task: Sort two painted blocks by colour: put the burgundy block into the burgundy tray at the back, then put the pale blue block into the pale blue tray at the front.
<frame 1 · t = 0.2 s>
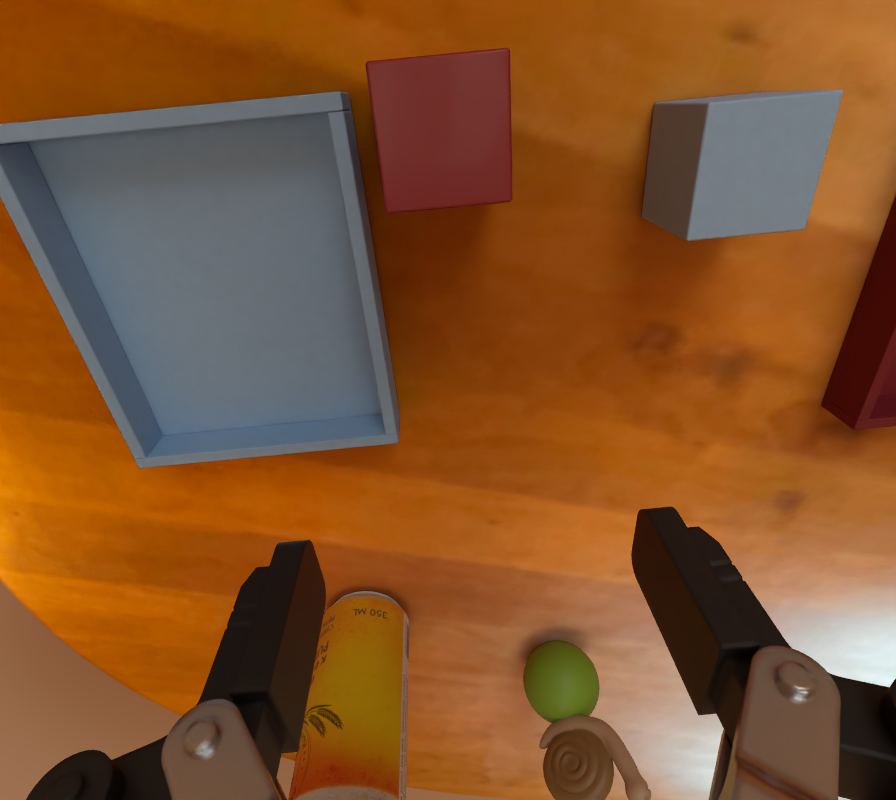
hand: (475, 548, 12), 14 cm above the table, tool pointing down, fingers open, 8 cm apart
blue tray: (239, 295, 23), on the table
burgundy block: (439, 130, 20), on the table
blue block: (698, 158, 21), on the table
snail figurine: (557, 642, 39), on the table
beer can: (366, 611, 36), on the table
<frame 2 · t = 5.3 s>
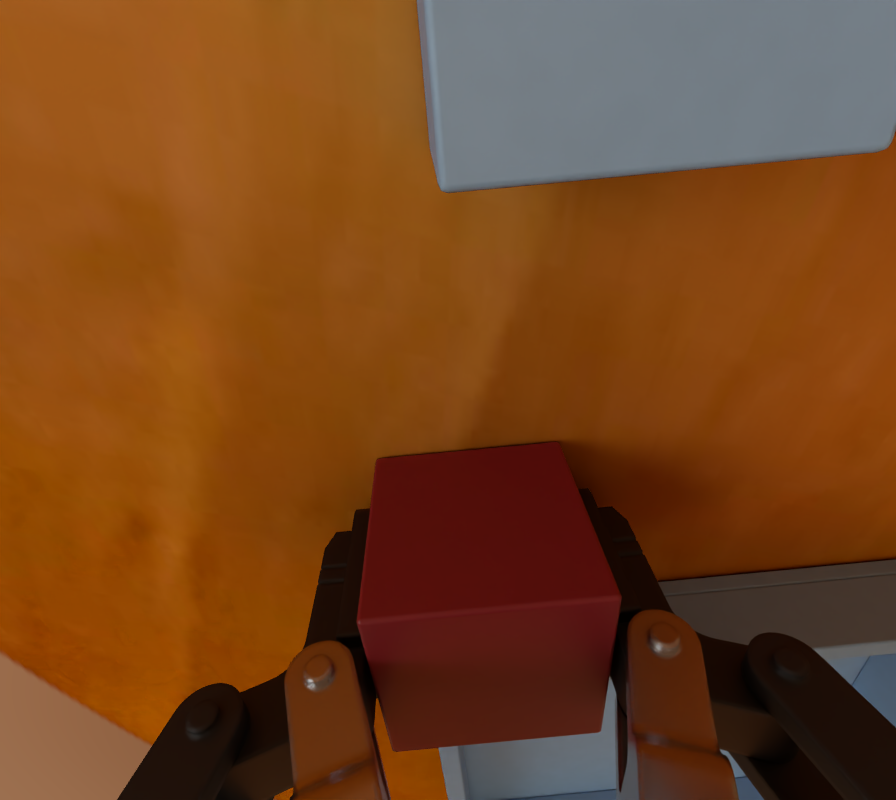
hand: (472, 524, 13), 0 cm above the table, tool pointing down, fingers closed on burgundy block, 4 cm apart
blue tray: (648, 697, 18), on the table
burgundy block: (472, 516, 13), on the table, touching gripper
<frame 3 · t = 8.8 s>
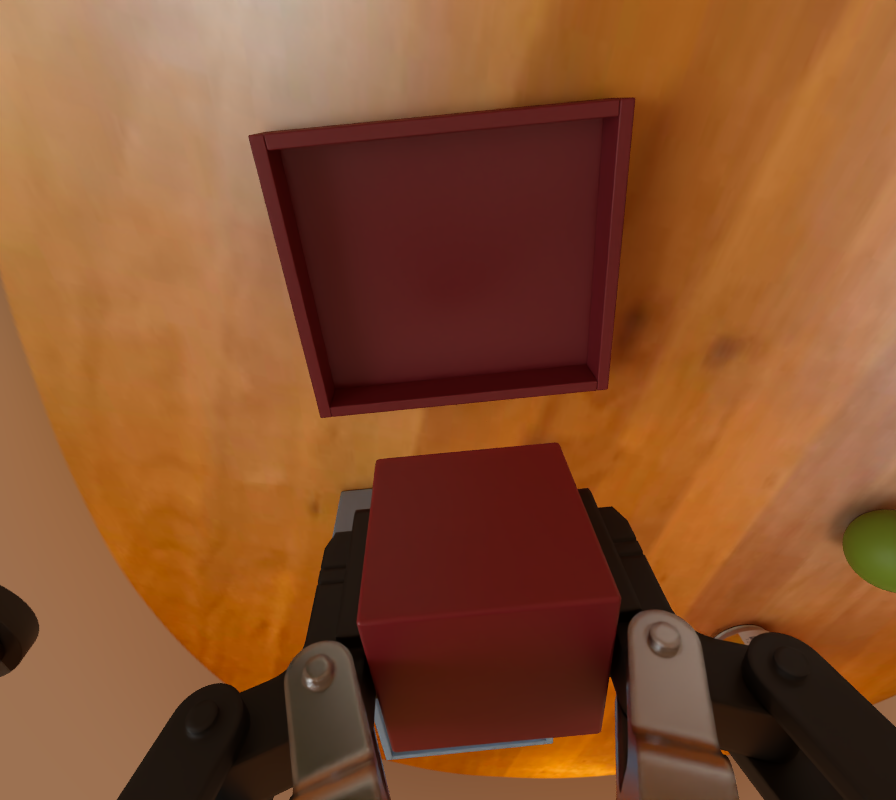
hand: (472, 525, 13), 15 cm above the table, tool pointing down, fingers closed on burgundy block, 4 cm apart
burgundy tray: (451, 266, 25), on the table
blue tray: (462, 683, 44), on the table
burgundy block: (472, 516, 13), point 15 cm above the table, touching gripper
blue block: (381, 513, 33), on the table
snail figurine: (860, 515, 36), on the table
beer can: (736, 640, 43), on the table
when the fingers open (1 cm above the table, at t = 12.6 s): burgundy block stays where it is, resting on burgundy tray.
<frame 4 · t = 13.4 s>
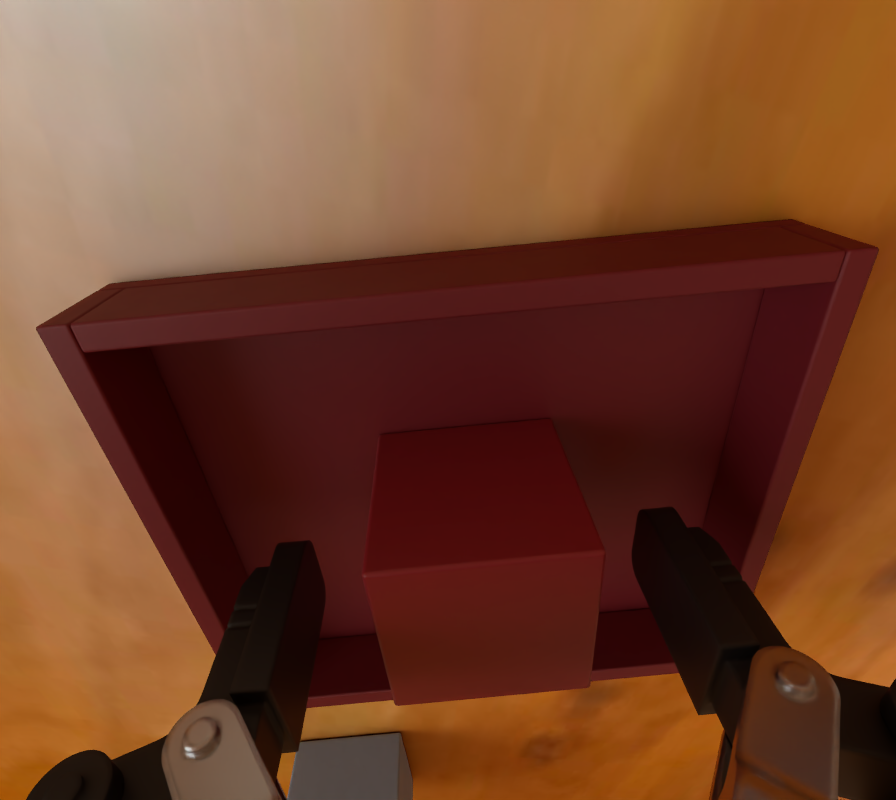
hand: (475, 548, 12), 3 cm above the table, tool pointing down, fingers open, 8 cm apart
burgundy tray: (468, 479, 14), on the table
burgundy block: (469, 490, 14), resting on burgundy tray
blue block: (358, 760, 23), on the table
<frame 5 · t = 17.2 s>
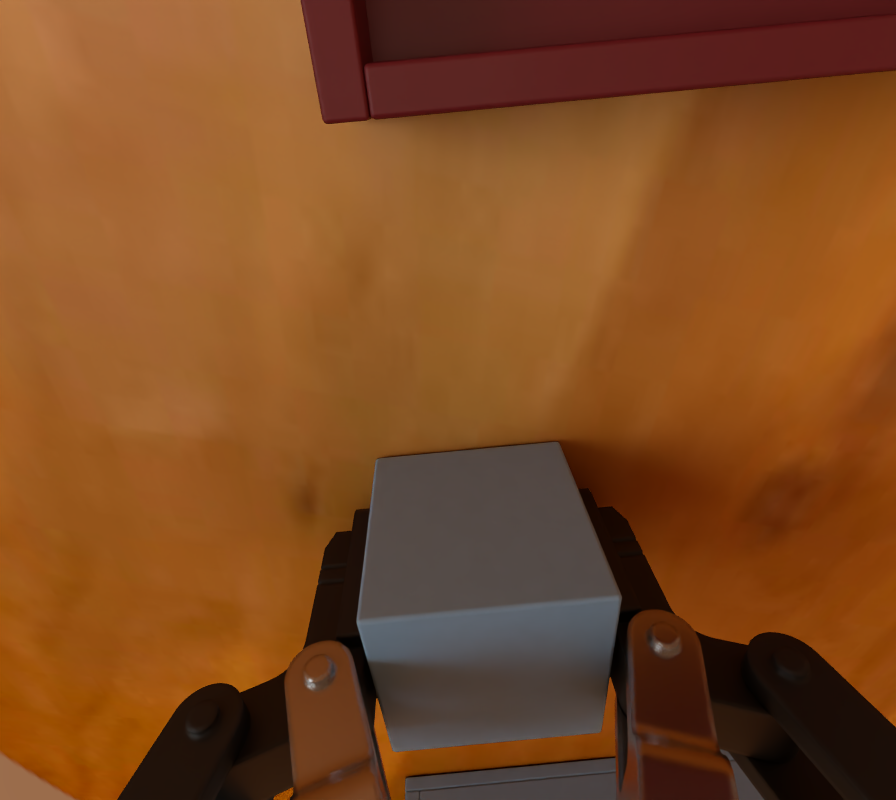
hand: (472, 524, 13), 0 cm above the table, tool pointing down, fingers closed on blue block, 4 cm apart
blue block: (472, 515, 13), on the table, touching gripper
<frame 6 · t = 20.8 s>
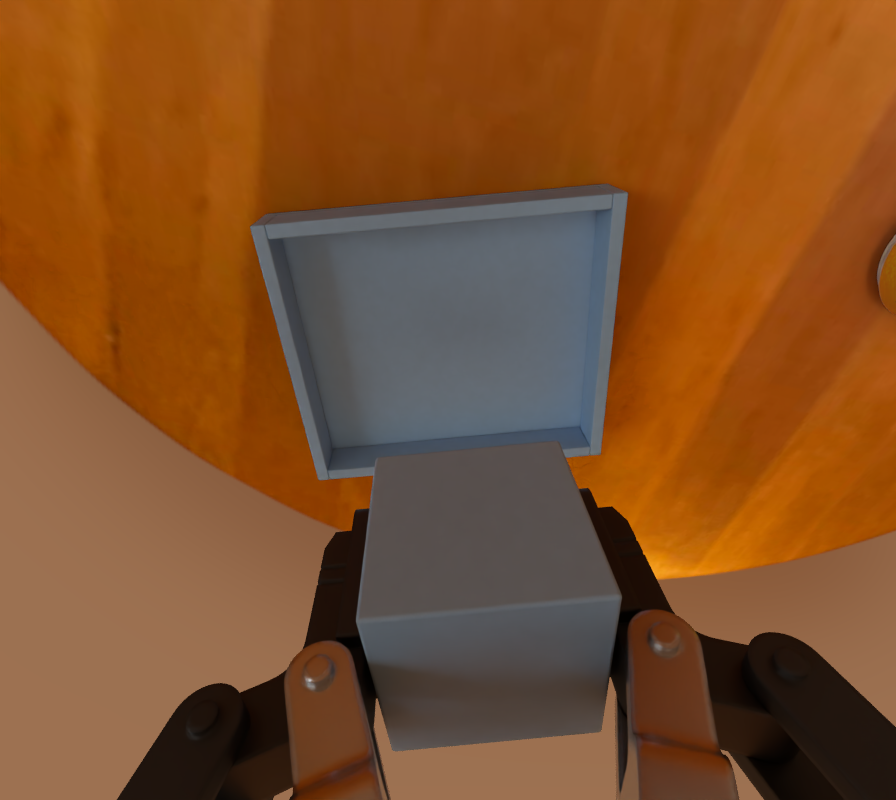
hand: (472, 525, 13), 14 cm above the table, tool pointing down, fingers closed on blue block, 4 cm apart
blue tray: (448, 335, 25), on the table
blue block: (472, 515, 13), point 14 cm above the table, touching gripper
when the fingers open (1 cm above the table, at t = 24.2 s): blue block stays where it is, resting on blue tray.
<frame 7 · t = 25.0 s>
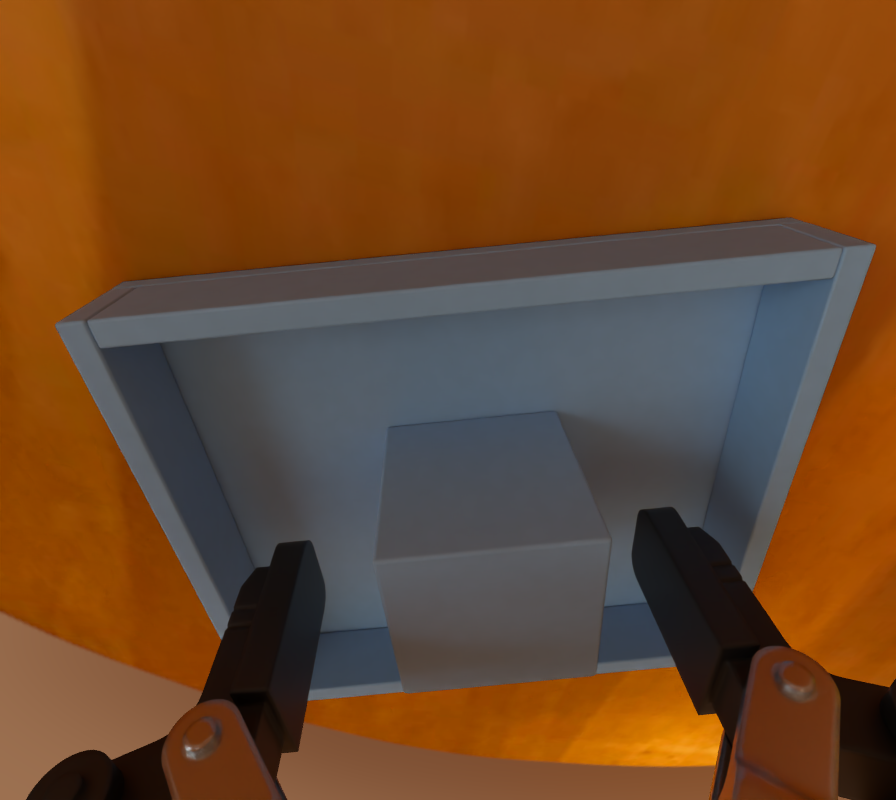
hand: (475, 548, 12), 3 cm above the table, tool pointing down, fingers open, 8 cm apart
blue tray: (472, 475, 15), on the table
blue block: (476, 483, 14), resting on blue tray
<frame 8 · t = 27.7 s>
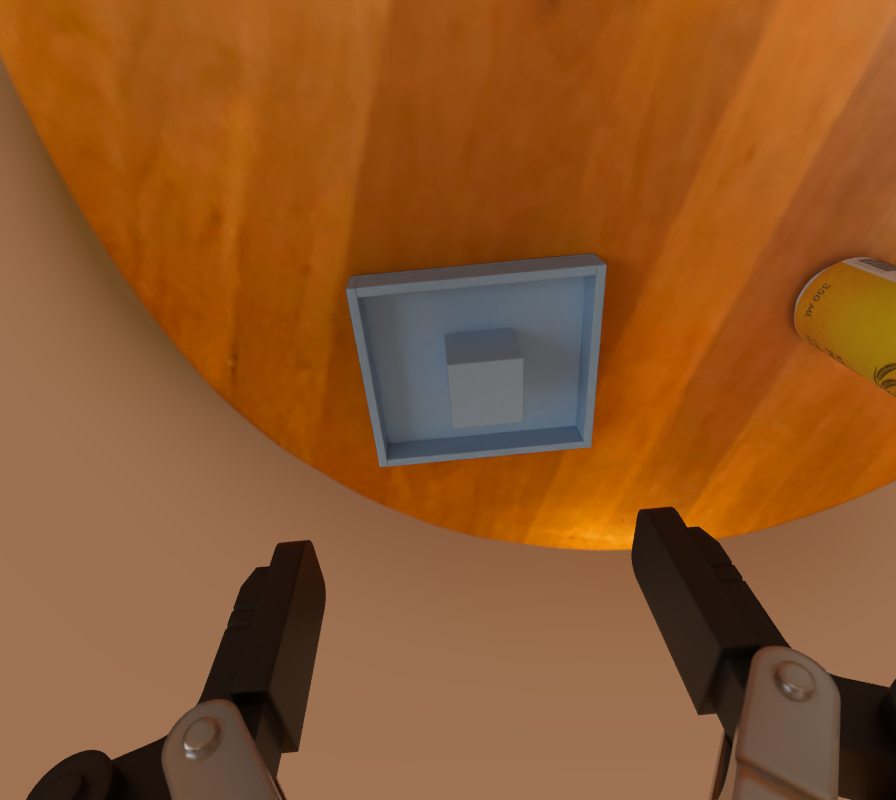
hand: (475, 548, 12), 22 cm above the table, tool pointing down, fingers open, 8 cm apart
blue tray: (477, 359, 34), on the table
blue block: (479, 361, 34), resting on blue tray
beer can: (830, 297, 34), on the table
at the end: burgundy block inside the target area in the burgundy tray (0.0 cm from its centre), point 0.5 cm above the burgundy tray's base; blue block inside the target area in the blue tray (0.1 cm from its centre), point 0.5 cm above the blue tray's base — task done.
